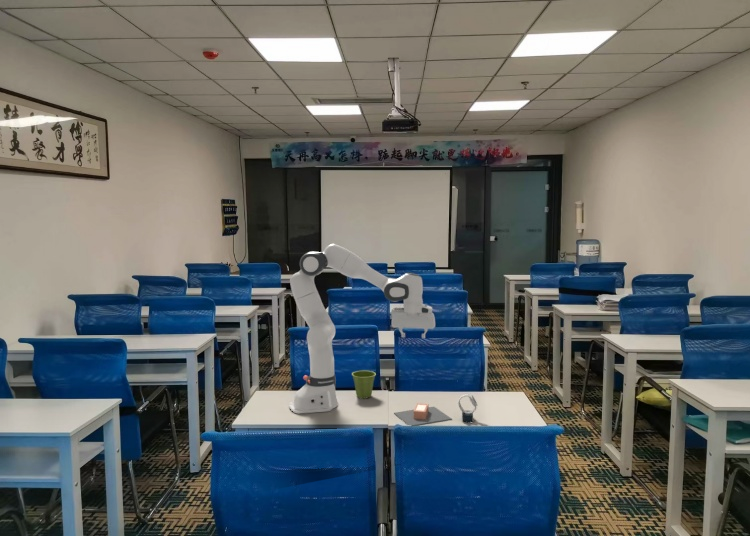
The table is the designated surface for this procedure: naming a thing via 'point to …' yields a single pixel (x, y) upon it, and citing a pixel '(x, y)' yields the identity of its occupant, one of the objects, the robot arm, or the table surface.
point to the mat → (431, 417)
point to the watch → (468, 415)
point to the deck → (421, 411)
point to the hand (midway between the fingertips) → (413, 337)
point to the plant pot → (363, 383)
